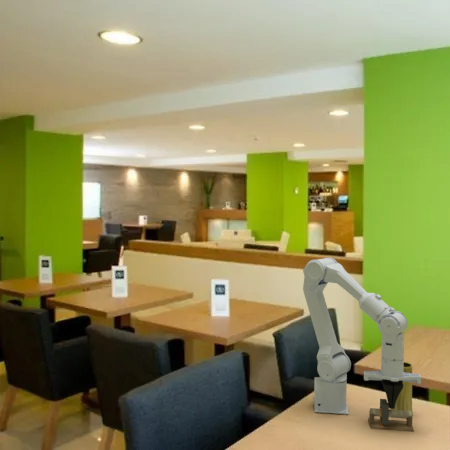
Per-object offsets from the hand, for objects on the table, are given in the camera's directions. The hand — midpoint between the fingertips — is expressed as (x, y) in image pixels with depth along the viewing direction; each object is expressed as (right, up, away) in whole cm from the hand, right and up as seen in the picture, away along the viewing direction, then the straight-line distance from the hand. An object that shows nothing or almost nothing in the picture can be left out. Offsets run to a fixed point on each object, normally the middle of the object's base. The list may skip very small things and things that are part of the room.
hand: (391, 407), depth 134 cm
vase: (+6, -5, +8) cm, 11 cm away
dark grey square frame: (-2, -4, 0) cm, 4 cm away
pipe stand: (0, -5, 0) cm, 5 cm away
